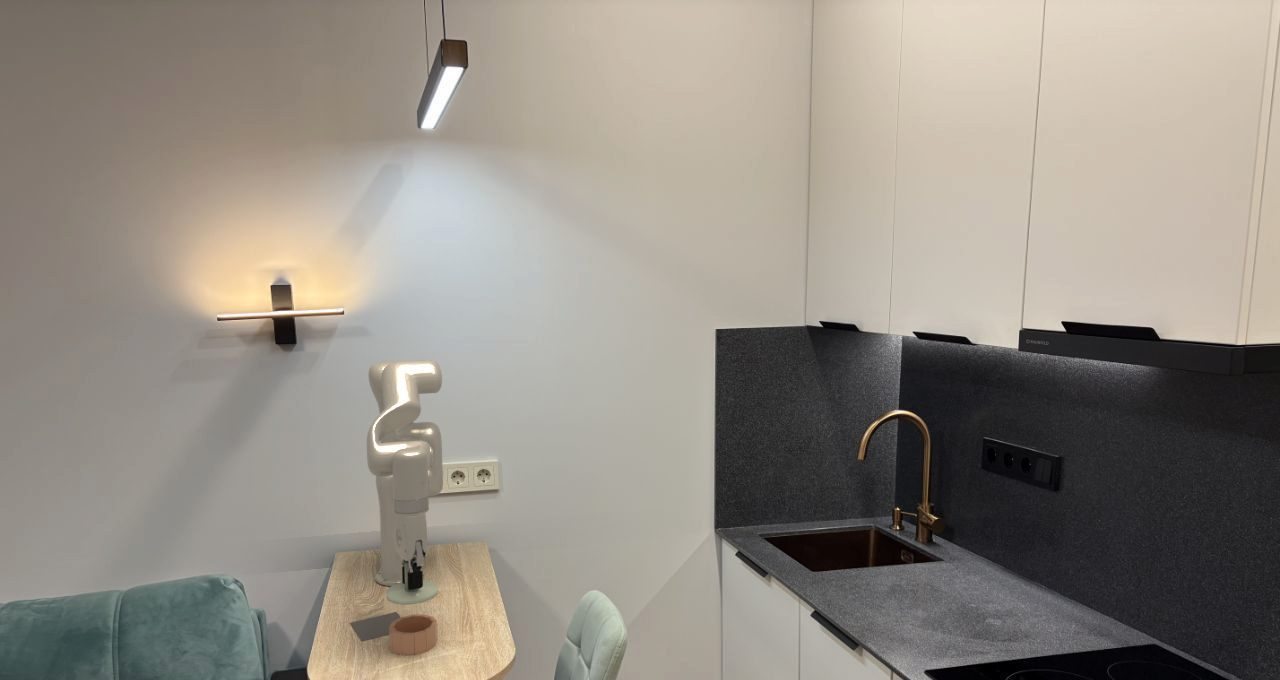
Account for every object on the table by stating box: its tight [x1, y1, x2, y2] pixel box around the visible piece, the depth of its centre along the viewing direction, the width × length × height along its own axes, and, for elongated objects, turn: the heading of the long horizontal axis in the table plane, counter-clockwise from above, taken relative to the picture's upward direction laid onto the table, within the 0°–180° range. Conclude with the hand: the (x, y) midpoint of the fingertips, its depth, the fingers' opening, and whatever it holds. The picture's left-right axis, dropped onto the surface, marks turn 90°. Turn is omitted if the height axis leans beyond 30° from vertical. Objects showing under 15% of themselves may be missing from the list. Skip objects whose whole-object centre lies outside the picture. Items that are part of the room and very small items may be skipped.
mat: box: [349, 611, 402, 642], centre depth 181 cm, size 11×11×1 cm
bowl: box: [388, 613, 438, 656], centre depth 173 cm, size 10×10×5 cm
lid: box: [386, 561, 439, 606], centre depth 171 cm, size 11×11×7 cm
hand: (412, 584), depth 172 cm, fingers closed on lid, 3 cm apart
